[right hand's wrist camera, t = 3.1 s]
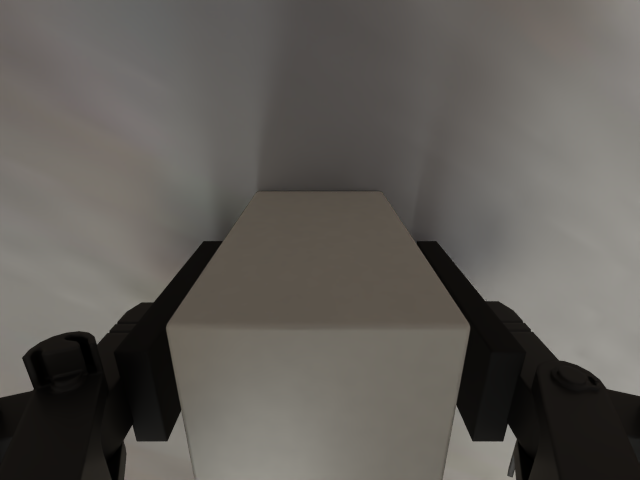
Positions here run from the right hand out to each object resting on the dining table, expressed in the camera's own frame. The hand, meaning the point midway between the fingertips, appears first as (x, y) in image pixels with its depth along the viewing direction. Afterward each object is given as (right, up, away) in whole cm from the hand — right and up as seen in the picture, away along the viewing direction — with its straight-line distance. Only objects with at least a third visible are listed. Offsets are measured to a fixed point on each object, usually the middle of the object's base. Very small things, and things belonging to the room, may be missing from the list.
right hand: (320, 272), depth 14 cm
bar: (0, -8, +4) cm, 9 cm away
